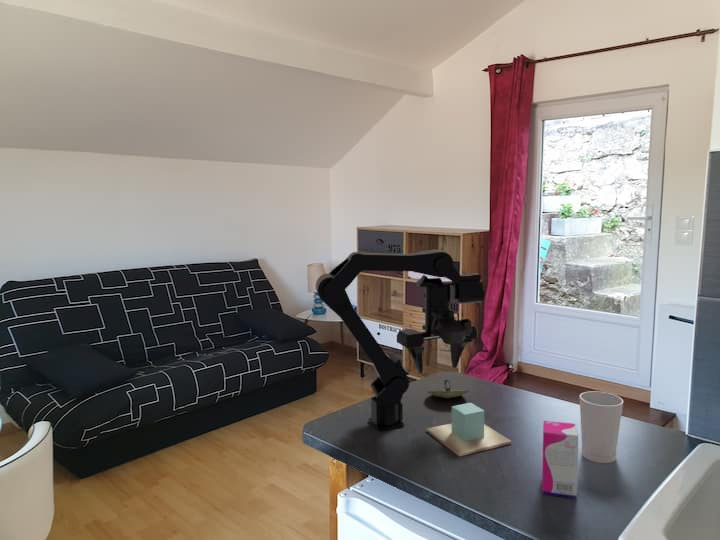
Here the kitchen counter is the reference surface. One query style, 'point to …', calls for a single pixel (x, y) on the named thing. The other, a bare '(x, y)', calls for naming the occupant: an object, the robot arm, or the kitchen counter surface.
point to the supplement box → (560, 459)
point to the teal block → (467, 421)
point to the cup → (600, 425)
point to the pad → (468, 447)
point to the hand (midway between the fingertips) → (437, 370)
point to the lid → (448, 392)
